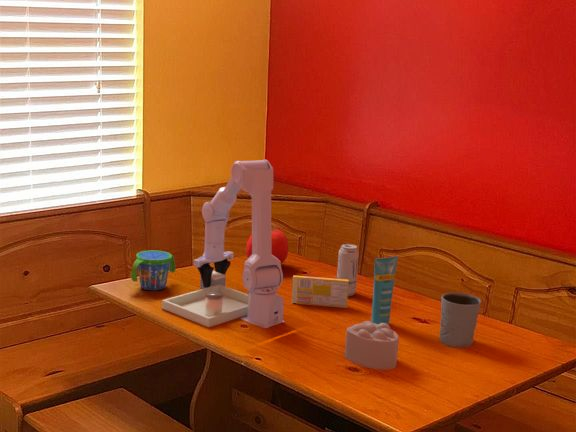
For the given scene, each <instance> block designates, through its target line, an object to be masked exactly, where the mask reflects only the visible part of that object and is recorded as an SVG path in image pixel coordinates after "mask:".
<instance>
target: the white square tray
mask: <svg viewBox="0 0 576 432" xmlns="http://www.w3.org/2000/svg"><path fill="white" fill-rule="evenodd" d="M209 291H219V292H222V293H223V305H222V313H221V314H218V315H214V316H211V317H207V316H205V312H206V292H209ZM248 295H249V293H245V292H242V291H240V290H237V289H233V288H232V287H228V286H226V285H225V286H223V285H220V284H218V285H215V286H211V287H208V288H204V289H203V288H202V289H198V290H195V291H190V292H186V293H183V294H180V295H176V296H172V297H168V298H166V299H162V300H161V309H162V310H164V311H166V312H169V313H172V314H174V315H177V316H179V317H182V318H184V319H187V320H189V321H192V322H193V323H196V324H199V325H201V326H204V327H206V328H212V327H214V326H218V325H221V324H224V323H227V322H230V321H233V320H236V319H238V318H239V319H240V318H243V317H246V316H247V315H248Z"/></svg>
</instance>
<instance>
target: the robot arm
mask: <svg viewBox="0 0 576 432" xmlns="http://www.w3.org/2000/svg"><path fill="white" fill-rule="evenodd" d="M241 190H242V191H243V192H245V193H248V194H249V195H250V197H251V235H252V255H251V256H250V257H249V258H248V257H247V259H246V260H245V261H244V263H243V264H244V266H243V271H242V278H241V279H242V284H243V286H244V288H245V289H246V290H247V291H248V315H245V316H242V317H240V320H243V321H245V322H246V323H247V322H248V323H250V324H253V325H256V326H259V327H260V328H263V329H268V328H270V327H273V326H276V325H279V324H282V323H284V322H285V320H284V307H285V303H284V298H283V297H282V296H281V295H280V294H278V293H277V291H278V290H279V287H281V286H282V284H283V280H284V273H283V270H282V264H281V261H280V260H279V259H277V258H276V257H275V256H273V255H272V254H271V228H272V190H274V167H273V166H272V165H271V163H270V161H269V160H267V159H262V160H261V159H258V160H235V161H234V162H233V163H232V166H231V170H230V178H229V180H228V182H227V184H226V186H223V187H220V188H219V189H218V190H217V192H216V194H215V195H214V197H212V199H211V200H210V201H206V202H204V204H203V205H202V207H201V215H202V219H203V220H204V225H205V226H204V227H205V230H204V252H203V253H202V256H200V257H198V258H195V259H193V267H195V268H197V271H198V272H199V274H200V279H201V278H202V281H203V286H204V287H206V288H208V287H210V285H211V276H212V272H213V271H216V272H218V273H221V274H224V275H227V271H228V269H229V267H230V266H231V265H232V264H231V261H230V260H234V252H233V251H225V234H226V233H225V230H226V227H227V226H228V225H227V224H228V220H229V217H230V210H231V209H232V207H233V206H234V205H235V203H236V201H237V198H238V197H237V194H238V193H239V192H240V191H241ZM210 264H213V265H214V267H212V266H211V265H210Z"/></svg>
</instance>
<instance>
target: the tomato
mask: <svg viewBox="0 0 576 432" xmlns="http://www.w3.org/2000/svg"><path fill="white" fill-rule="evenodd" d="M245 252H246V256H247V259H248V258H249V257H250V256H251V255H252V234H251V235H250V236H249V238H248V240H247V243H246V248H245ZM271 254H272V255H273V256H275V257H276V258H277V259H279V260H280V261H281V265H282V264H284V262H285V261H286V260H287V258H288V254H289V242H288V238H287V236H286V235H285V234H284V232H283V231H282V230H280V229H278V225H277V226H273V227H271Z"/></svg>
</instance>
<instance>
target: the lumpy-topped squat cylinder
mask: <svg viewBox="0 0 576 432" xmlns="http://www.w3.org/2000/svg"><path fill="white" fill-rule="evenodd" d="M345 334H346V335H345V348H344V357H345V359H347V360H349V361H350V362H352V363H354V364H357V365H358V366H360V367H365V368H369V369H375V370H392V369H395V368H396V367H397V362H398V361H397V360H398V351H399V342H400V341H399V340H400V337H399V334H397V332H396V331H394V330H393V329H391V326H390V325H388V324H386V323H380V324H379V325H378V324H375V323H372V322H371V320H365V321H363V322H361V323H356V324H353V325H351V326H348V327H347V328H346V333H345Z"/></svg>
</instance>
